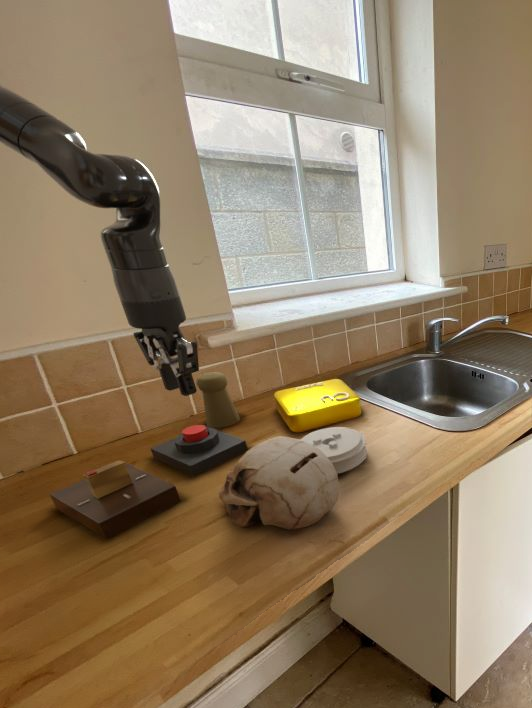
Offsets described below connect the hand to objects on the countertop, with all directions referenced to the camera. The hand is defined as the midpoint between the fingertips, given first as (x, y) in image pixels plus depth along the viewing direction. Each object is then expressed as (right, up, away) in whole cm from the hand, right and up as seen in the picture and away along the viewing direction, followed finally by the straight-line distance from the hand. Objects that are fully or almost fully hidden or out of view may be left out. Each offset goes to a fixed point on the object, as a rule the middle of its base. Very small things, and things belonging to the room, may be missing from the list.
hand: (181, 390), depth 79 cm
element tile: (+14, -5, +23) cm, 27 cm away
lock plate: (-3, -18, -8) cm, 20 cm away
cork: (-4, -6, +17) cm, 19 cm away
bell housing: (-1, -12, +6) cm, 13 cm away
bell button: (0, -9, +4) cm, 10 cm away
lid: (+24, -13, +6) cm, 28 cm away
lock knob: (-3, -16, -9) cm, 19 cm away
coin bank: (+22, -20, -7) cm, 30 cm away
